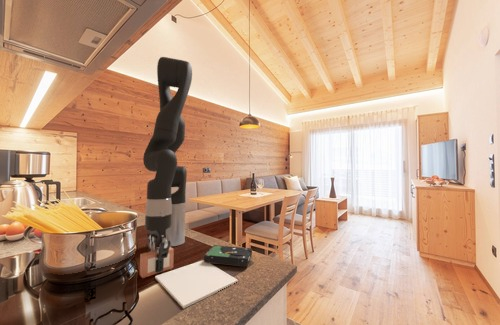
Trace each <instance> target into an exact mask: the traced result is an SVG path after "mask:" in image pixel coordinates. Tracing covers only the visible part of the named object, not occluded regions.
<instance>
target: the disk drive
mask: <svg viewBox="0 0 500 325" xmlns="http://www.w3.org/2000/svg"><path fill="white" fill-rule="evenodd" d="M252 255H253V248H250V247H239V246H228V245H227V246H226V245H217V244H216V245H215V244H214V245H213V246H212V247H211V248H209V251H207V252H206V253H204V256H203V260H204V262H206V263H210V264H216V265H226V266H227V265H228V266H238V267H248V265H249V263H250V260H251V258H252Z"/></svg>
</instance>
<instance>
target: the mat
mask: <svg viewBox="0 0 500 325" xmlns="http://www.w3.org/2000/svg"><path fill="white" fill-rule="evenodd" d="M154 278H155V280H156V281H157V282H158V283H159V284H160V285H161V286H162V287H163V288H164V289H165V290H166V291H167V293H168V294H169V295H170V296H171V298H173V299H174V300H175V302H177V304H178V305H179V306H180V307H182V309H183V310H184V309H186V308H188V307H190V306H192V305H193V304H194V305H195V304H196V303H199V302H200V301H202V300H205V299H206V298H208V297H210V296H212V295H215V294H216V293H219V292H221V291H223V290H225V289H226V287H227V288H229V287H231V286H233V285H235V284H237V283H239V280H238V279H237V278H236V277H234V276H232V275H230V274H228V273H227V272H225V271H223V270H222V269H221V268H218V267H217V266H215V265H214V264H213V263H206V262H204V259H202V260H199V261H196V262H194V263H191V264H187V265H184V266H181V267H178V268H175V269H173V270H172V269H171V270H170V271H169V270H168V271H167V272H163V273H161V274H156V275H155V277H154ZM236 282H237V283H236ZM234 283H235V284H234ZM230 285H231V286H230ZM228 286H229V287H228ZM224 288H225V289H224ZM222 289H223V290H222ZM220 290H221V291H220ZM218 291H219V292H218Z"/></svg>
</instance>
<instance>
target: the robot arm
mask: <svg viewBox="0 0 500 325" xmlns="http://www.w3.org/2000/svg"><path fill="white" fill-rule="evenodd" d="M156 66H157V67H156V74H157V86H158V97H159V99H158V100H159V112H158V114H157V115H156V119H155V122H154V123H155V124H154V129H153V132H152V133H153V134H152V136H151V138H150V140H149V142H148V144H147V146H146V148H145V150H144V151H145V152H144V153H143V158H142V160H143V166H144V168H146V170H148V171H149V172H155V175H154V176H155V177H154V178H153V179H150V180H149V181H148V182H147V188H146V189H147V190H146V203H145V213H144V214H145V215H144V229H145V230H146V231H148V233H146V237H147V238H146V239H147V246H148V252H151V251H154V252H155V259H156V261H155V271H156V272H160V271H162V270H163V263H164V258H167V256H168V252H169V247H176V246H177V247H178V246H180V245H183V244H184V243H185V242H186V240H185V238H186V235H185V234H186V191H187V190H186V189H187V187H186V186H187V176H188V174H187V168H186V167H185V166H178V159H177V155H176V152H177V151H178V150H179V149H180V147H181V146H182V145H183V143H184V140H185V136H186V122H185V120H184V118H183V116H182V112H183V109H184V106H185V103H186V100H187V98H188V94H189V91H190V88H191V86H192V80H193V68H192V67H193V66H192V65H191V63H190V62H189V61H186V60H182V59H179V58H178V59H177V58H172V57H167V56H160V58H159V59H158V60H157V65H156ZM171 87H172V88H175V89H176V88H177V91H176V93H175V94H174V95H173V96H172V93H171ZM172 188H177V190H176V191H174V192H172ZM160 273H161V272H160Z"/></svg>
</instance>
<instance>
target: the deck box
mask: <svg viewBox="0 0 500 325" xmlns="http://www.w3.org/2000/svg"><path fill="white" fill-rule="evenodd" d="M174 250H175V249H174V248H173V246H170V247H169V252H168V256H167V258H164V263H163V270H162V271H160V272H156V271H155V261H156V259H155V252H154V251H151V252H149V251H146V252H143V253H140V254H139V276H140V277H141V278H142V279H145V278H147V277H150V276H153V275H158V274H159V273H162V272H163V273H164V272H165V271H169V270H172V269H174V257H175V256H174V252H175V251H174Z"/></svg>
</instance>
